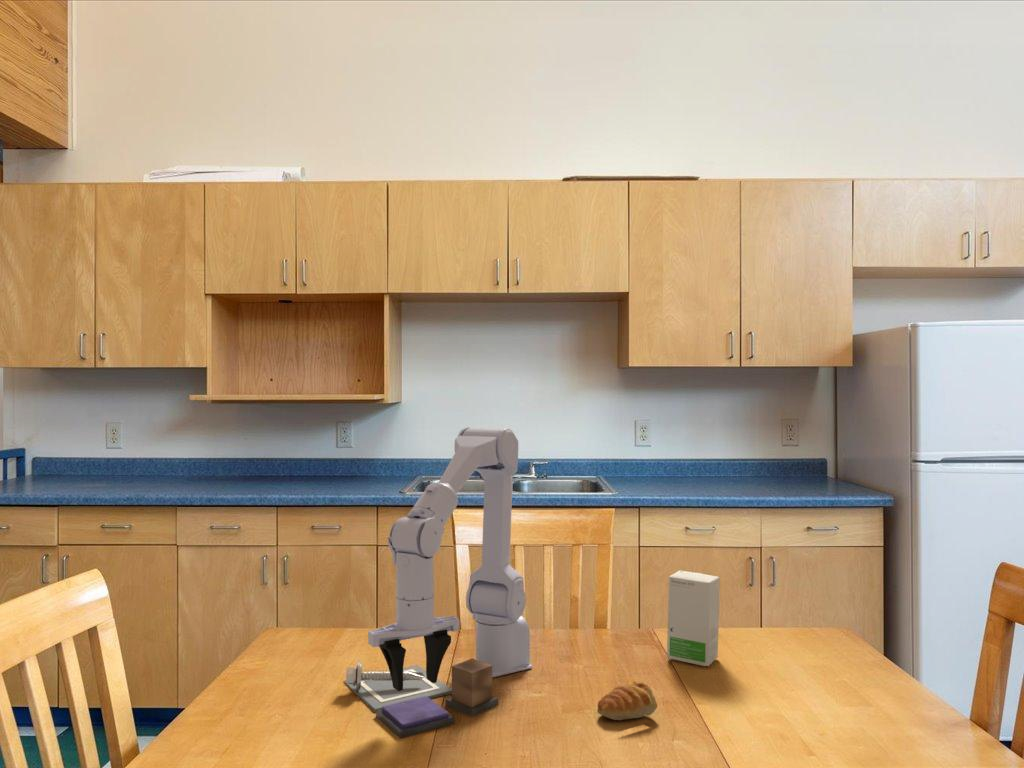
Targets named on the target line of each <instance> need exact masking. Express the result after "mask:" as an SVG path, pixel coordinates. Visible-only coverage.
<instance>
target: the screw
mask: <svg viewBox="0 0 1024 768" xmlns="http://www.w3.org/2000/svg"><path fill="white" fill-rule="evenodd" d="M362 669H363V662H361V660H358V661H357V665H354V667H347V668H346V676H345V678H346V679H345V680H346V684H353V686H355V685H356V692H358V690H360V687H361V681H362V682H363V681H369V682H370V681H376V682H377V681H380V682H381V681H387V682H388V681H392V678H391V674H390V671H389V670H388V671H387V670H386V669H385V670H380V669H378V671H377V669H376V670H371V671H370V670H367V671H366V670H362ZM423 678H424V674H423V673H422V672H408V671H407V672H406V671H403V681H409V680H422V679H423ZM346 684H345V685H346Z"/></svg>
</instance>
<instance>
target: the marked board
mask: <svg viewBox="0 0 1024 768" xmlns="http://www.w3.org/2000/svg"><path fill="white" fill-rule="evenodd" d="M403 671H406V672H407V671H408V672H422V673H423V674H424V678H423V679H422V680H409V681H403V690H402V691H397V690H396V689H395V688H393V684H392V681H388V682H387V681H381V682H380V681H377V682H376V681H370V682H369V681H363V682H362V681H361V687H360V690H358V692H356V685H355V686H353V684H346V679H345V680H343V683H344V684H345V685H346V686H347V687H348V688H349V689H350V690H351V691H352V692H353V693H354V694H356V696H357V697H359V698H360V700H362V701H363V702H364V704H366V705H367V706H368V707H369V708H370V709H371V710H372V711H374V712H375V713H376V710H378V709H382V706H387V705H391V704H395V703H399V702H403V701H407V700H411V699H415V698H420V697H424V696H427V697H429V698H430V699H431V700H432V699H435V698H439V697H443V696H447V695H452V687H450V686H448V685H447V684H446V683H444V682H443V681H441V680H440V679H438V678H437V682H436V683H432V682H430V681H429V680H427V676H426V669H424V668H422V667H420V666H419V665H418V664H416V665H411V666H406V667H403Z"/></svg>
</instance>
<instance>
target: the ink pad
mask: <svg viewBox="0 0 1024 768" xmlns="http://www.w3.org/2000/svg"><path fill="white" fill-rule="evenodd" d="M375 717H376V718H377V719H379V720H380V721H381V722H382V723H383V724H384V725H385V727H387V728H389V730H391V731H392V733H394V734H395V735H396V736H397V737H398V738H399V739H403V738H406V737H410V736H414V735H419V734H421V733H426V732H429V731H433V730H437V729H440V728H443V727H447V726H451V725H455V724H456V720H455V719H456V716H454V715H453V714H451V713H450V712H449V711H447V710H446V709H445V708H443V707H442V706H441V705H439V704H438V703H437V702H435V701H434V700H433V699H432V698H431V699H430V698H429V697H427V696H424V697H420V698H415V699H411V700H407V701H403V702H399V703H395V704H391V705H387V706H382V709H378V710H376V712H375Z"/></svg>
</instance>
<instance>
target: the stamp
mask: <svg viewBox="0 0 1024 768" xmlns="http://www.w3.org/2000/svg"><path fill="white" fill-rule="evenodd" d="M451 689H452V694H451V696H450V697H448V698H446V699H445V707H446V708H448V709H451V710H454V711H457V712H459V713H461V714H463V715H466V716H469V717H471V718H473V717H475V716H477V715H480V714H482V713H484V712H486V711H489V710H491V709H493V708H495V707H498V706H499V697H497V696H493V677H492V665H490V664H487V663H484V662H481V661H478V660H476V659H475V658H469V659H467V660H465V661H462V662H460V663H457V664H456V663H455V664H454V665H452V666H451Z"/></svg>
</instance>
